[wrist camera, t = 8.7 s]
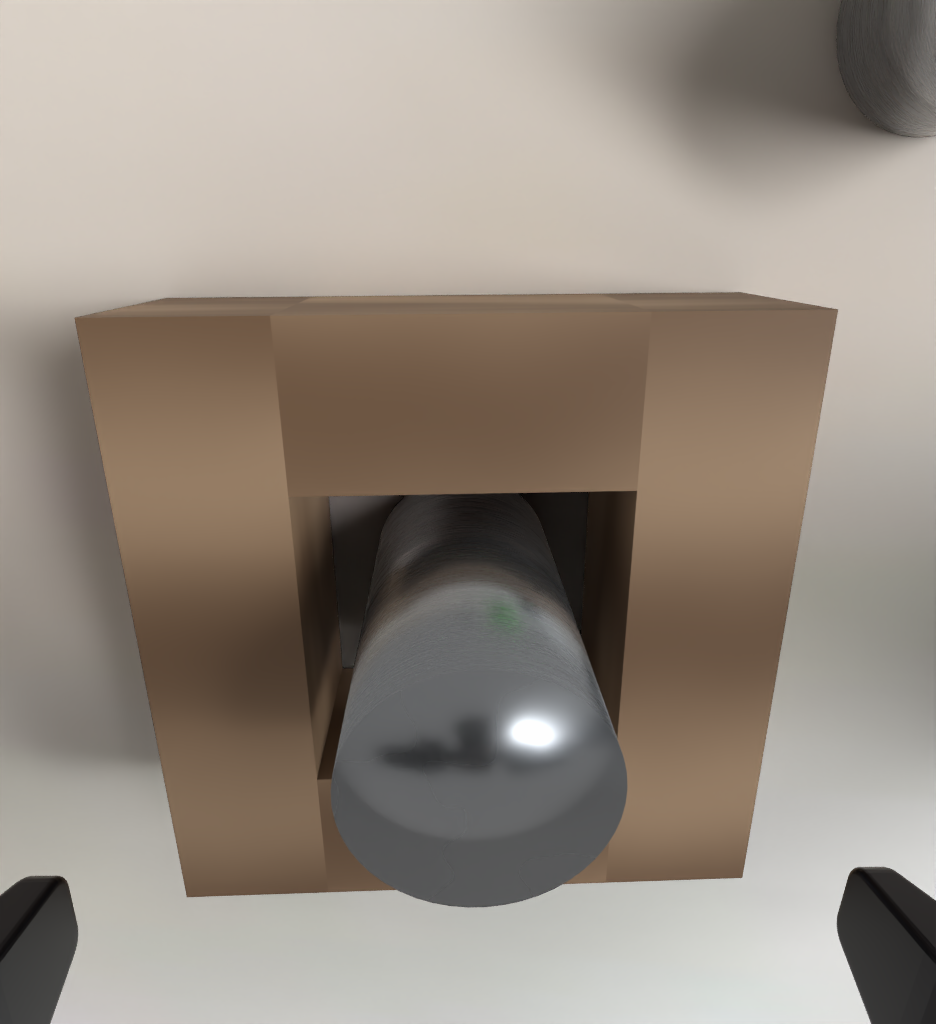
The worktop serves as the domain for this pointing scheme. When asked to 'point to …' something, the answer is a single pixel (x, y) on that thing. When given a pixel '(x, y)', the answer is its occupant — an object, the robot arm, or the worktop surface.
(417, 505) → the tall pin
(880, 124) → the short pin
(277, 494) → the hole block
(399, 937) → the worktop surface
